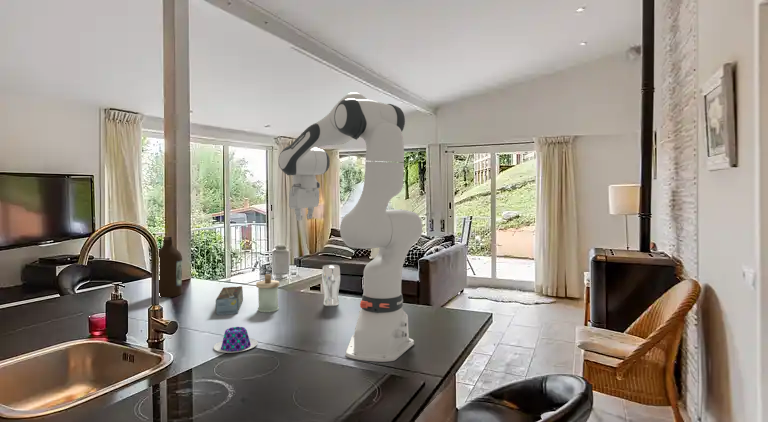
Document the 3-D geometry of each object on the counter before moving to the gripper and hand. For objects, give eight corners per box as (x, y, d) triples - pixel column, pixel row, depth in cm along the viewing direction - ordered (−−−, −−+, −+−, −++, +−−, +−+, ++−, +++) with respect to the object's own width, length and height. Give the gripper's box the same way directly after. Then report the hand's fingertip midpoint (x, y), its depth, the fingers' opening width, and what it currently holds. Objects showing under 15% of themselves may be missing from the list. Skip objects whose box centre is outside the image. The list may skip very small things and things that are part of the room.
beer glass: (339, 306, 170) (338, 267, 169) (321, 306, 170) (320, 267, 169) (341, 301, 177) (341, 264, 176) (323, 301, 177) (323, 264, 176)
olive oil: (152, 298, 182) (150, 238, 181) (159, 292, 192) (157, 235, 191) (180, 297, 184) (178, 237, 183) (185, 291, 195) (184, 234, 193)
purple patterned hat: (208, 345, 129) (208, 327, 129) (249, 337, 136) (249, 320, 136) (220, 358, 119) (219, 339, 119) (263, 349, 126) (263, 330, 126)
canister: (272, 313, 161) (272, 288, 161) (253, 311, 163) (253, 287, 162) (282, 307, 168) (282, 284, 168) (264, 306, 170) (264, 283, 170)
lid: (272, 288, 160) (272, 277, 160) (251, 287, 162) (251, 276, 162) (283, 284, 168) (283, 273, 168) (263, 282, 170) (263, 271, 170)
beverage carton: (214, 315, 159) (214, 297, 158) (222, 302, 178) (222, 286, 177) (238, 314, 160) (237, 296, 160) (243, 301, 179) (243, 285, 179)
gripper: (300, 183, 160) (300, 221, 161) (321, 183, 180) (322, 217, 181) (284, 183, 162) (284, 221, 163) (307, 184, 182) (307, 217, 183)
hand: (304, 219), depth 172 cm, fingers open, 8 cm apart
